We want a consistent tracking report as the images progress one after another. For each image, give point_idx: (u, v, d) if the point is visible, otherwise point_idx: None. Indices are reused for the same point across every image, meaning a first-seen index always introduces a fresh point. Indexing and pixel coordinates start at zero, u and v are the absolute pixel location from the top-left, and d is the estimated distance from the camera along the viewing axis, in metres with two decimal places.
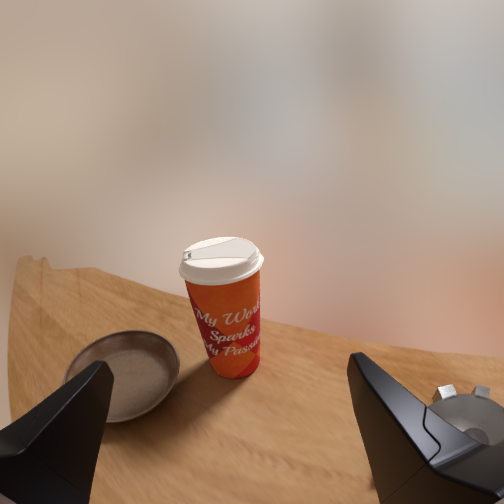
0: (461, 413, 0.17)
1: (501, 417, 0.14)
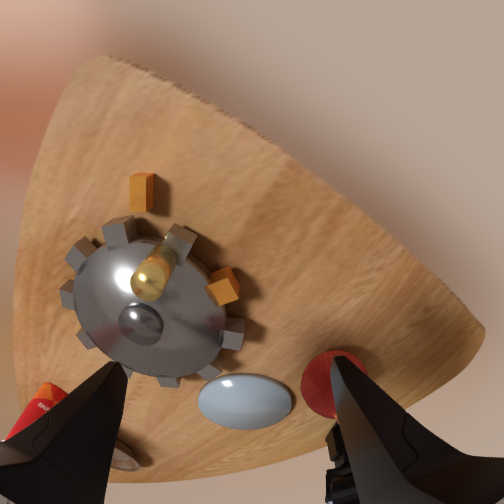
0: (96, 303, 0.20)
1: (119, 259, 0.18)
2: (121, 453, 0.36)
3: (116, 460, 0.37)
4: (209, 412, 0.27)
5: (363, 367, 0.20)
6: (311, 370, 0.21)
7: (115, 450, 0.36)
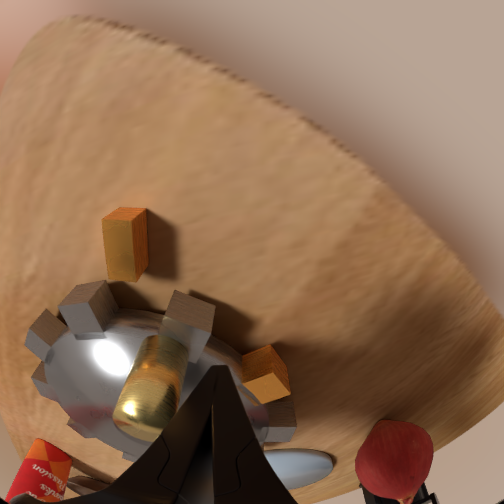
0: (81, 399, 0.12)
1: (95, 352, 0.10)
2: None
3: None
4: None
5: (430, 440, 0.13)
6: (373, 454, 0.13)
7: None
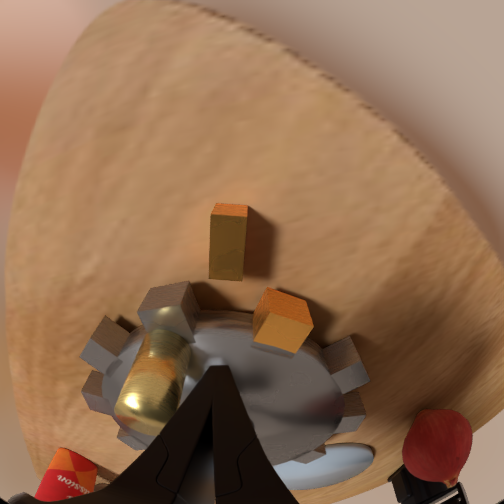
0: None
1: None
2: None
3: None
4: None
5: (469, 424, 0.13)
6: (422, 440, 0.13)
7: None
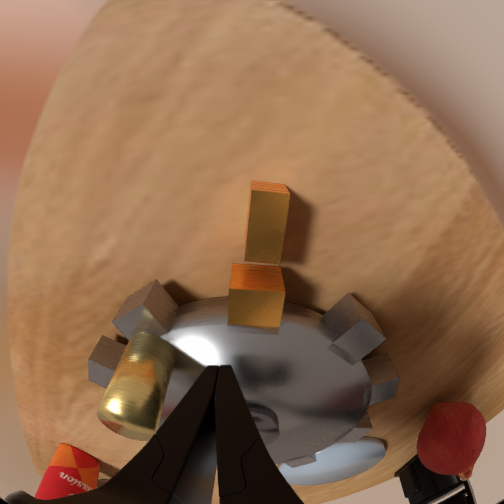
0: None
1: None
2: None
3: None
4: (288, 477, 0.19)
5: (482, 417, 0.12)
6: (439, 433, 0.13)
7: None
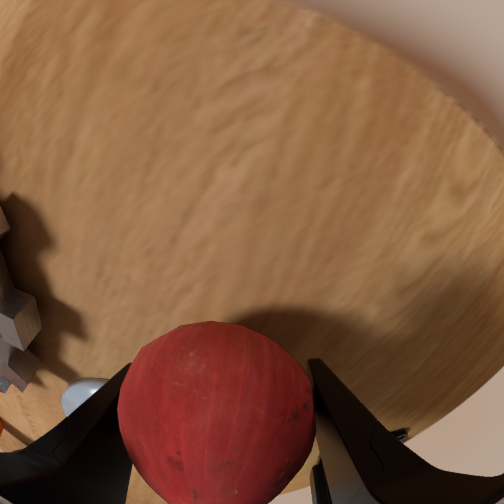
0: None
1: None
2: None
3: None
4: None
5: (278, 373, 0.06)
6: None
7: None
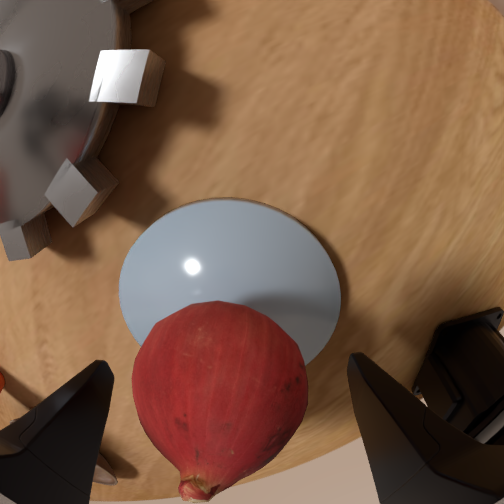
0: None
1: None
2: None
3: None
4: None
5: (274, 348, 0.07)
6: None
7: None
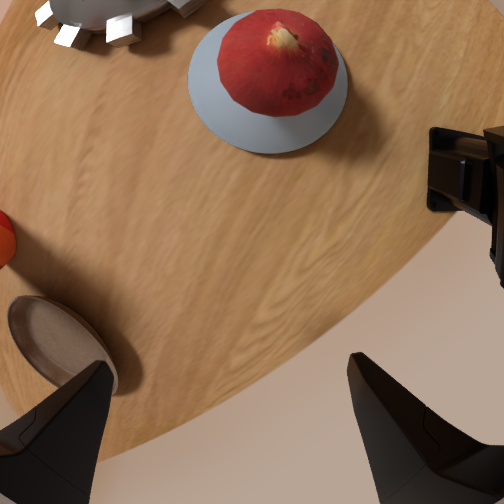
0: None
1: None
2: (93, 358, 0.25)
3: None
4: (209, 106, 0.16)
5: None
6: None
7: (84, 353, 0.25)
